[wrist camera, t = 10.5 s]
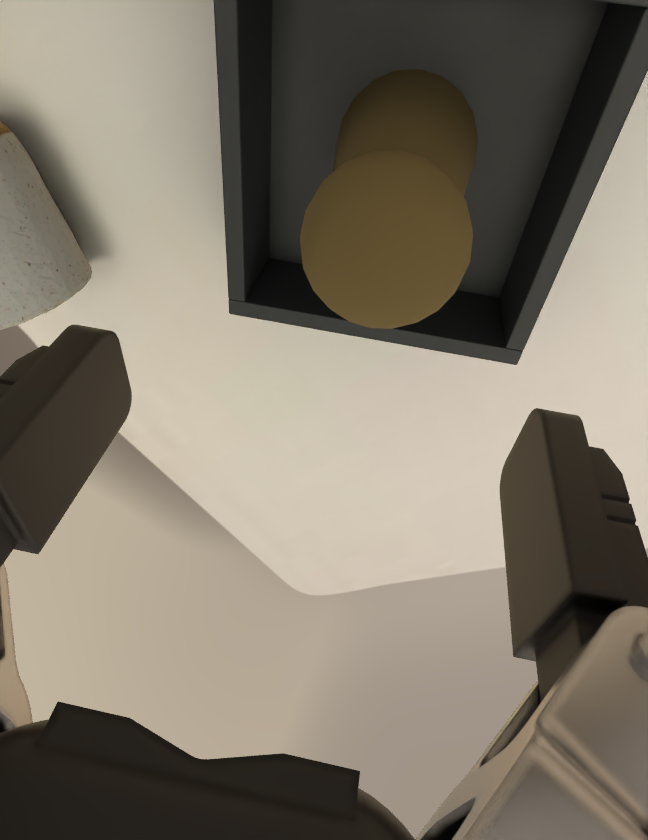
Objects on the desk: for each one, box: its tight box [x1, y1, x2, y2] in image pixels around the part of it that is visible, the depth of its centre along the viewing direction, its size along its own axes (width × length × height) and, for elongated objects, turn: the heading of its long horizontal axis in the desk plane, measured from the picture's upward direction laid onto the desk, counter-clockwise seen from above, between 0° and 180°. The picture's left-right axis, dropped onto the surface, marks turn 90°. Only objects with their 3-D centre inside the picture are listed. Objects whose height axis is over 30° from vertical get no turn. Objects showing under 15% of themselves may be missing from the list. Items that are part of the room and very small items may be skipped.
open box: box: [214, 0, 648, 365], centre depth 21 cm, size 14×14×5 cm
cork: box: [300, 69, 478, 329], centre depth 18 cm, size 6×6×11 cm
